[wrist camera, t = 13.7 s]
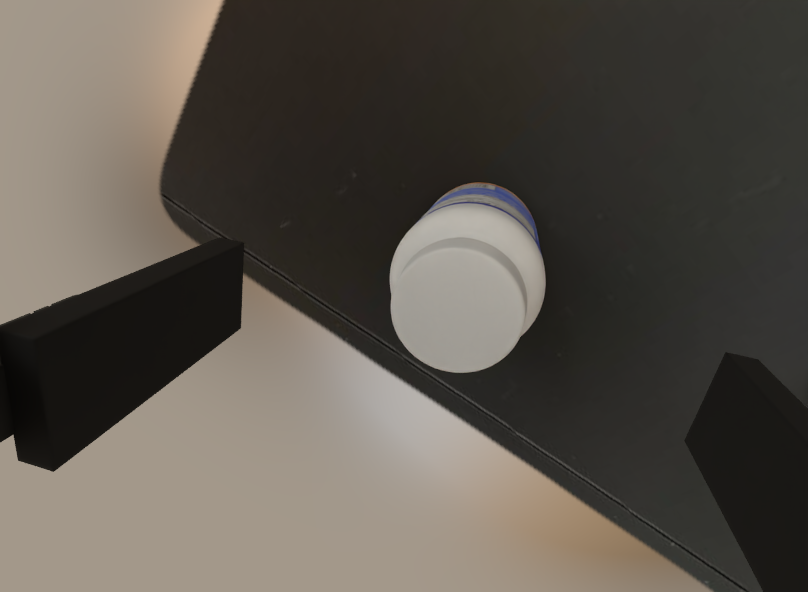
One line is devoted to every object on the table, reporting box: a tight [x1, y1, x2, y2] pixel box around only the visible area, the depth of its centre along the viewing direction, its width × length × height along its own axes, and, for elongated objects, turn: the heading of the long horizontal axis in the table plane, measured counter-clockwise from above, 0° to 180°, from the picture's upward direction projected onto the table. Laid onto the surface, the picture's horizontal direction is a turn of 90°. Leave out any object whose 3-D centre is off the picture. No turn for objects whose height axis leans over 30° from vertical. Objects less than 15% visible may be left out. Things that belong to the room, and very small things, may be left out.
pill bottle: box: [390, 182, 546, 373], centre depth 19 cm, size 5×5×10 cm
